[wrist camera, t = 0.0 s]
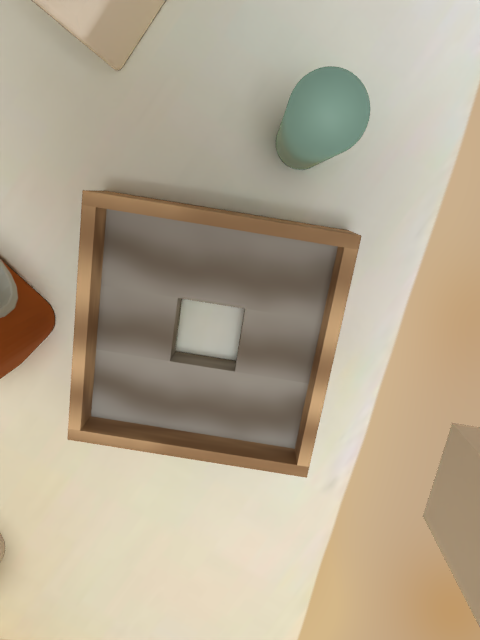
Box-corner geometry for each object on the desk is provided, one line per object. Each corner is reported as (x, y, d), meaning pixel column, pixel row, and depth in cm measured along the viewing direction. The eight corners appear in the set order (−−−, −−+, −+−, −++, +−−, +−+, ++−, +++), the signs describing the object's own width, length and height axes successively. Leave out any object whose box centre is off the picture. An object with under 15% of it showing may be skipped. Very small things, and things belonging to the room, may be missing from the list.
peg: (280, 111, 35) (295, 59, 22) (332, 119, 35) (378, 73, 22) (271, 165, 36) (280, 149, 23) (321, 173, 36) (359, 162, 23)
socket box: (105, 190, 37) (82, 190, 32) (347, 230, 37) (361, 235, 33) (89, 411, 43) (67, 439, 38) (301, 445, 43) (306, 477, 38)
